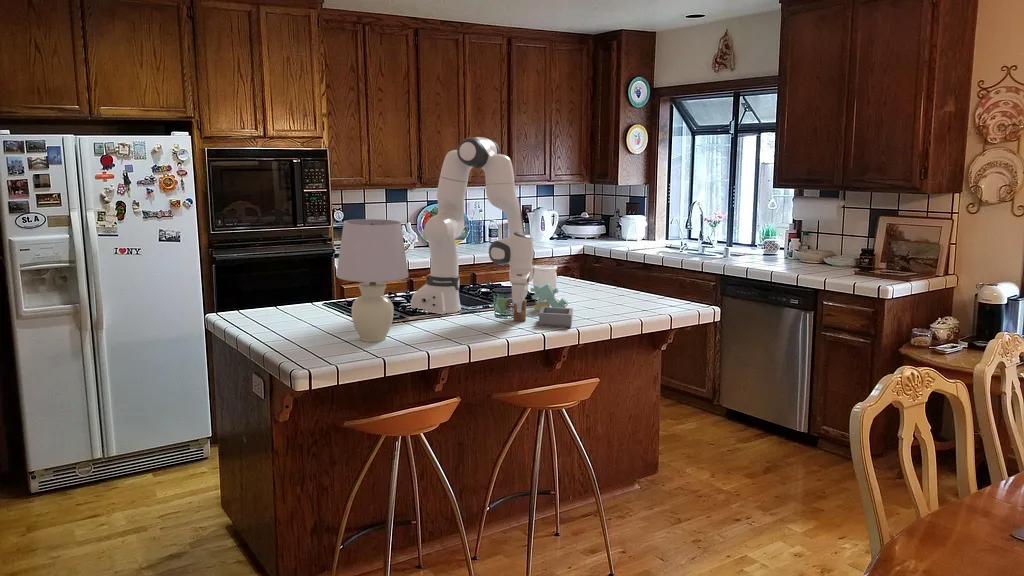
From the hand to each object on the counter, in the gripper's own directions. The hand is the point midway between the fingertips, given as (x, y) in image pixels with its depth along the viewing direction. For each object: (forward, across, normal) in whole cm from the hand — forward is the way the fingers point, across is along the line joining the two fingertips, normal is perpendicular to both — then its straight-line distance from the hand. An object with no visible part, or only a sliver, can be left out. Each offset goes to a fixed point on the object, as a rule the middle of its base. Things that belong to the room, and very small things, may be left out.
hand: (519, 311), depth 300 cm
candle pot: (+4, +2, +14) cm, 15 cm away
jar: (+4, -41, +6) cm, 42 cm away
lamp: (+4, +40, -46) cm, 61 cm away
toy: (+4, -21, +10) cm, 24 cm away
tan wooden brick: (+4, 0, 0) cm, 4 cm away
